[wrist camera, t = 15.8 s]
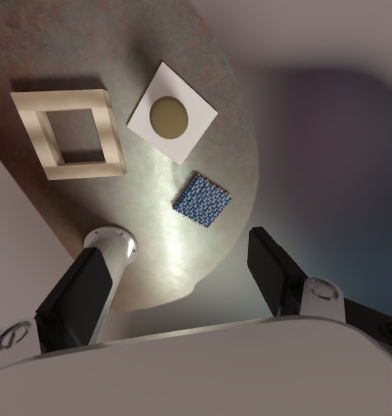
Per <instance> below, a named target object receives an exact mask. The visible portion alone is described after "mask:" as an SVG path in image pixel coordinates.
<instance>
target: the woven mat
mask: <svg viewBox="0 0 392 416" xmlns="http://www.w3.org/2000/svg"><path fill="white" fill-rule="evenodd" d="M194 176H195V178H193V177H192V180H193V181H190V184H188V187H186V189H184V192H182V194H183V195H180V196H181V197H180V198H178V200H179V201H178V200H177V201H176V202H177V203H175V205H173V206H172V207H173V208H172V209H174V210H176V212H177V211H178V214H179V213H180V214H182V215H184V217H185V216H187V217H189V218H190V219H192V220H193V221H194V222H195V221H196V223H199V225H200V224H201V226H203V227H207V228H208V227H209V226H210V225H211V223H212V222H213V221H214V220H215V218H217V216H218V215H219V214H218V213H221V211H222V210H223V209H222V208H224V207H225V205H227V203H228V202H229V200H231V198H230V196H231V195H228V193H227V192H225V193H223V191H224V190H223V189H222V190H221V191H220V187H218V188H215V187H216V186H215V185H213V186H212V183H209V182H208V181H209V180H208V179H206V180H203V179H204V176H203V177H202V178H201V177H199V176H200V174H199V173H198V174H197V175H194ZM197 179H198V180H197ZM199 180H200V181H199ZM195 182H196V183H195ZM201 182H202V183H201ZM206 184H207V185H206ZM193 185H194V186H193ZM199 185H200V186H199ZM205 185H206V186H205ZM203 187H204V188H203ZM210 187H211V188H210ZM191 188H192V189H191ZM201 190H202V191H201ZM208 190H209V192H208ZM195 191H196V192H195ZM218 192H219V193H218ZM193 193H194V194H193ZM199 193H200V194H199ZM205 193H207V194H205ZM211 193H212V194H211ZM187 194H188V195H187ZM221 194H222V196H221ZM209 195H210V196H209ZM215 195H217V196H215ZM227 195H228V196H227ZM191 196H192V197H191ZM197 196H198V197H197ZM225 197H226V199H225ZM207 198H208V199H207ZM213 198H214V199H213ZM183 199H184V200H183ZM228 199H229V200H228ZM217 200H218V201H217ZM223 200H224V201H223ZM199 201H200V202H199ZM211 201H212V202H211ZM226 202H227V203H226ZM209 203H210V204H209ZM214 203H215V204H214ZM221 203H222V204H221ZM191 204H192V205H191ZM212 205H213V206H212ZM219 205H220V206H219ZM207 206H208V207H207ZM216 208H217V209H216ZM187 209H188V210H187ZM193 209H194V210H193ZM208 210H209V211H208ZM220 210H221V211H220ZM197 211H198V212H197ZM212 213H213V214H212ZM216 215H217V216H216ZM199 216H200V217H199ZM187 217H186V218H187ZM189 218H188V219H189ZM200 220H201V221H200ZM205 223H206V224H205Z"/></svg>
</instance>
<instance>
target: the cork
mask: <svg viewBox="0 0 392 416" xmlns="http://www.w3.org/2000/svg"><path fill="white" fill-rule="evenodd" d="M149 118H150V123H151V126H152V128H153V130H154V131H155V133H156V134H158V135H159V136H160V137H162V138H165V139H175V138H178V137H179V136H181V135H182V134H183V133H184V132H185V131H186V129H187V126H188V114H187V110H186V108H185V107H184V105H183V104H182V103H181V102H180V101H179V100H178V99H176V98H174V97H171V96H164V97H161V98H159V99H157V100H156V101H155V102H154V103H153V105H152V106H151V109H150V113H149Z"/></svg>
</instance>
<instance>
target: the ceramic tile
mask: <svg viewBox="0 0 392 416" xmlns="http://www.w3.org/2000/svg"><path fill="white" fill-rule="evenodd" d="M164 96H171V97H174V98H176V99H178V100H179V101H180V102H181V103H182V104H183V105H184V107H185V108H186V110H187V114H188V126H187V129H186V131H185V132H184V133H183V134H182V135H181V136H179V137H178V138H175V139H165V138H162V137H160V136H159V135H158V134H156V133H155V131H154V130H153V128H152V126H151V123H150V118H149V113H150V109H151V106H152V105H153V103H154V102H155V101H156V100H157V99H159V98H161V97H164ZM217 114H218V113H217V112H216V111H215V110H214V109H213V108H212V107H211V106H210V105H209V104H208V103H207V102H205V101H204V100H203V99H202V98H201V97H200V96H199V95H198V94H197V93H196V92H195V91H194V90H193V89H192V88H190V87H189V86H188V85H187V84H186V83H185V82H184V81H183V80H182V79H181V78H180V77H179V76H178V75H176V74H175V73H174V72H173V71H172V70H171V69H170V68H169V67H168V66H167V65H166V64H165V63H164V62H162V63H161V65H160V67H159V69H158V71H157V72H156V74H155V76H154V78H153V80H152V82H151V83H150V85H149V87H148V89H147V91H146V93H145V94H144V96H143V98H142V100H141V102H140V103H139V105H138V107H137V109H136V111H135V113H134V114H133V116H132V118H131V120H130V122H129V124H128V125H127V127H128V128H130V129H131V130H132V131H134V132H135V133H136V134H138V135H139V136H141V137H142V138H143V139H145V140H146V141H147V142H149V143H150V144H152V145H153V146H154V147H156V148H157V149H158V150H160V151H161V152H162V153H164V154H165V155H167V156H168V157H169V158H171V159H172V160H173V161H175V162H176V163H178V164H179V165H181V164H182V163H183V161H184V160H185V158H186V157H187V156H188V154H189V153H190V151H191V150H192V149H193V147H194V146H195V144H196V143H197V142H198V140H199V139H200V137H201V136H202V135H203V133H204V132H205V130H206V129H207V128H208V126H209V125H210V123H211V122H212V121H213V119H214V118H215V116H216V115H217Z"/></svg>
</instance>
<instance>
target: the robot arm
mask: <svg viewBox="0 0 392 416" xmlns="http://www.w3.org/2000/svg"><path fill="white" fill-rule="evenodd" d="M137 252H138V245H137V242H136V240H135V239H134V237H133V236H132V235H131V234H130V233H128V232H127V231H125V230H123V229H121V228H118V227H114V226H102V227H98V228H96V229H94V230H92V231H91V232H90V233H89V234H88V235H87V236H86V238H85V240H84V250H83V251H82V252H81V254H80V255H79V256H78V257H77V259H76V260H75V261H74V263H73V264H72V265H71V266H70V268H69V269H68V270H67V272H66V273H65V274H64V275H63V277H62V278H61V279H60V281H59V282H58V283H57V285H56V286H55V287H54V288H53V290H52V291H51V292H50V294H49V295H48V296H47V297H46V299H45V300H44V301H43V302H42V304H41V305H40V306H39V308H38V309H37V310H36V313H37V314H36V316H35V317H34V318H24V319H21V320H18V321H16V322H14V323H12V324H11V325H9V326H8V327H6V328H5V329H4V330H3V329H0V416H392V317H390V316H388V315H385V314H383V313H380V312H378V311H376V310H373V309H371V308H368V307H366V306H363V305H361V304H358V303H356V302H353V301H351V300H349V299H346V298H344V297H343V294H342V292H341V290H340V289H339V288H338V287H337V286H336V285H335V284H333V283H332V282H330V281H328V280H326V279H324V278H320V277H310V278H309V277H308V276H307V275H306V274H305V273H304V272H303V271H302V270H301V268H300V267H299V266H298V265H297V264H296V263H295V262H294V261H293V260H292V258H291V257H290V256H289V255H288V254H287V253H286V252H285V250H284V249H283V248H282V247H281V246H279V245H278V244H277V243H276V242H275V241H274V240H273V238H272V237H271V236H270V235H269V234H268V233H267V232H266V230H265V229H264V228H263V227H253V228H252V230H250V231H249V245H248V259H247V264H248V268H249V270H250V272H251V274H252V276H253V278H254V280H255V281H256V283H257V285H258V287H259V289H260V291H261V293H262V295H263V297H264V299H265V301H266V303H267V304H268V307H269V309H270V310H271V312H272V314H273V316H274V317H271V318H262V319H255V320H247V321H241V322H235V323H227V324H220V325H214V326H207V327H200V328H194V329H187V330H181V331H174V332H168V333H162V334H156V335H149V336H142V337H136V338H130V339H124V340H118V341H112V342H105V343H100V344H96V343H97V340H98V337H99V334H100V331H101V328H102V326H103V323H104V320H105V318H106V315H107V312H108V310H109V308H110V305H111V302H112V300H113V297H114V295H115V292H116V290H117V287H118V284H119V282H120V279H121V277H122V274H123V272H124V269H125V266H126V265H129V264H130V263H131V262H132V261H133V260H134V259H135V257H136V255H137Z"/></svg>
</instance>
